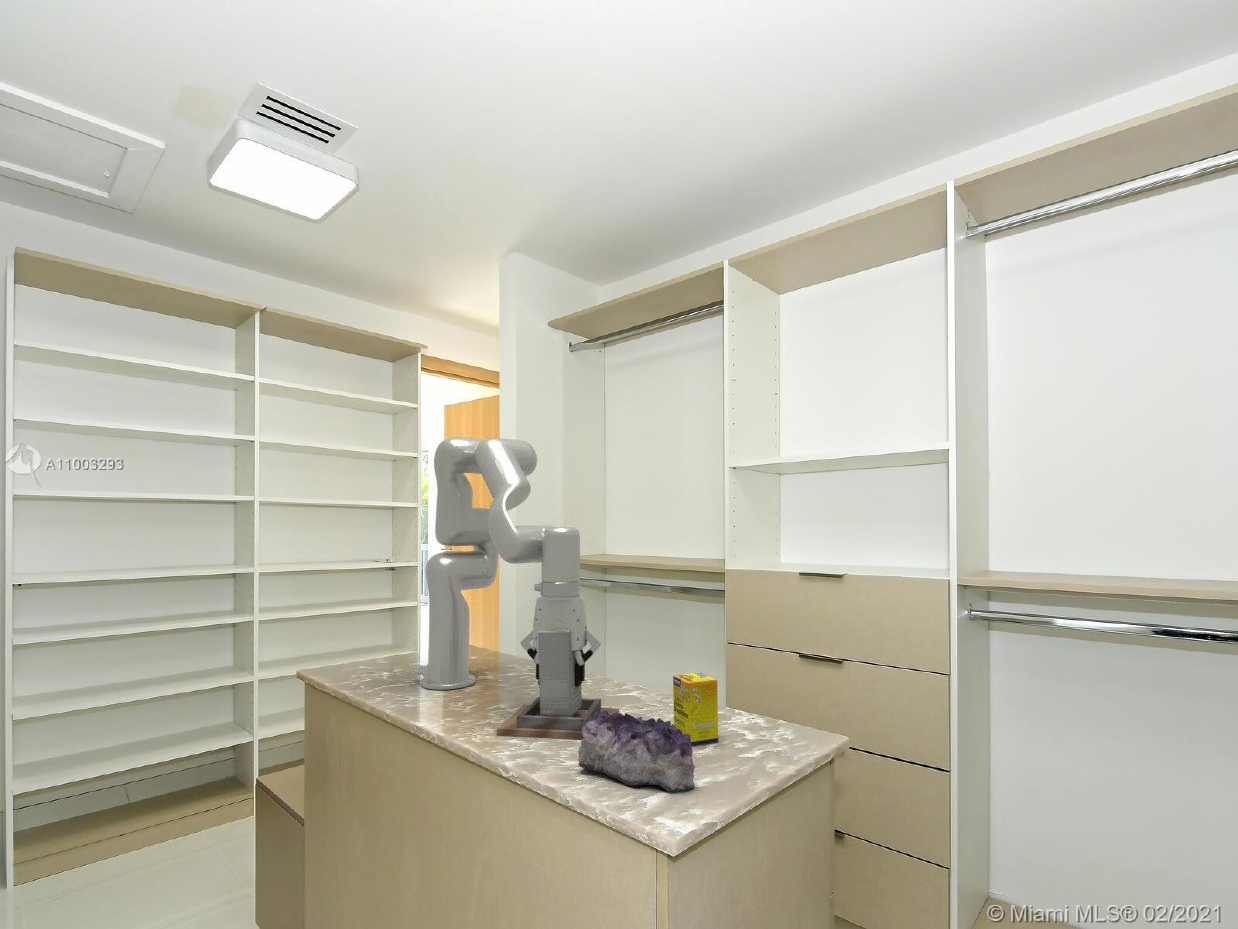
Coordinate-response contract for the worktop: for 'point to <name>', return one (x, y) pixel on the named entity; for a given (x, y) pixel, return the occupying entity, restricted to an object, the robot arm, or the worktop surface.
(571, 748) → the worktop surface
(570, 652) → the skincare box
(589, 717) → the board
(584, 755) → the geode
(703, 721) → the supplement box
